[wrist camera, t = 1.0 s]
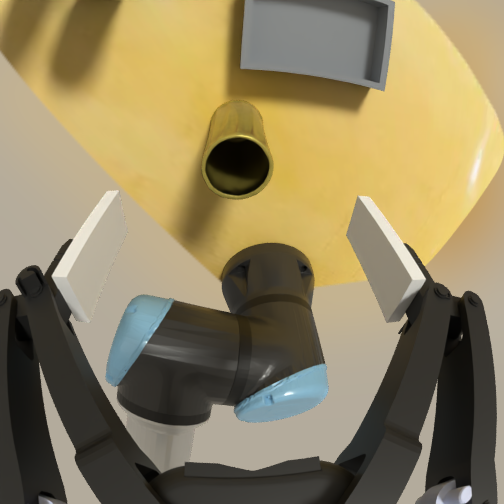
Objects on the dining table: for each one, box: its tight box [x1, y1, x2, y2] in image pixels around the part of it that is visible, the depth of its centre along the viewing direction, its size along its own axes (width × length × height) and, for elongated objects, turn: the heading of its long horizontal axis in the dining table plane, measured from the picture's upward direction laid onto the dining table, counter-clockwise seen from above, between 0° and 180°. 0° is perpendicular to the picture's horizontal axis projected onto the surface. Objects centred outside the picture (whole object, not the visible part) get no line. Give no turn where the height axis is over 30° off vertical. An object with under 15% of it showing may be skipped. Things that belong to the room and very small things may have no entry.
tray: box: [240, 0, 395, 91], centre depth 21 cm, size 12×16×4 cm
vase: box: [201, 100, 273, 199], centre depth 25 cm, size 6×6×14 cm
